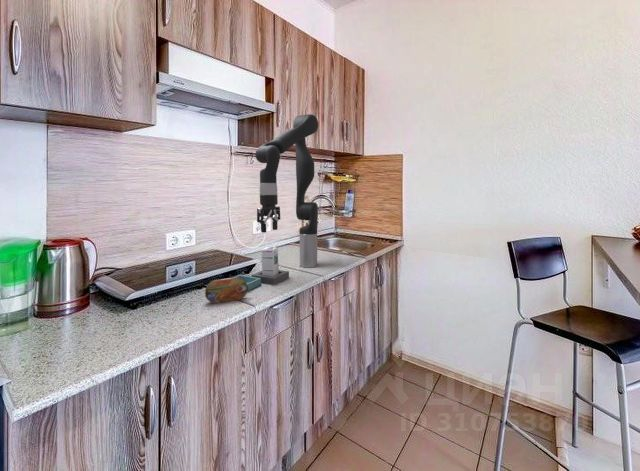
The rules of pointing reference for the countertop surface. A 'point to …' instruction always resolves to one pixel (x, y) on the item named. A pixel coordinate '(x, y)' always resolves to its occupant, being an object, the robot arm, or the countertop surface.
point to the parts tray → (250, 281)
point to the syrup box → (270, 261)
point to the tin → (226, 290)
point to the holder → (272, 280)
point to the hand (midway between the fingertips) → (269, 231)
